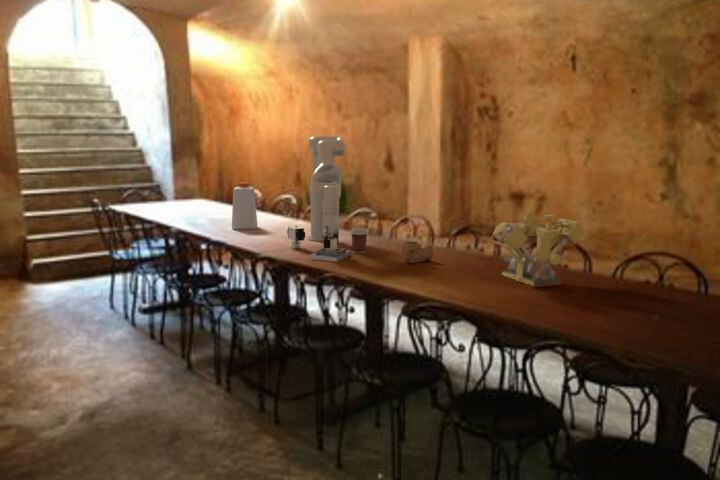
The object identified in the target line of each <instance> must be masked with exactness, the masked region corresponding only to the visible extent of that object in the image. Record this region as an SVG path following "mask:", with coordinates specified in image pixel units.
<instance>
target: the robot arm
mask: <svg viewBox="0 0 720 480" xmlns="http://www.w3.org/2000/svg"><path fill="white" fill-rule="evenodd" d="M308 147H309V151H310V152H311V154H312V170H311V171H312V174H311V177H310V186H309V189H308V190H309V191H308V192H309V198H310V199H309V200H310V236H308V237H307V238H308V239H307V240H309V241H313V242H323V248H330V240H329V239H330V236H335V238H337V246H338V245H339V236H340V235H339V233H340V225H339V223H340V221H339V219H340V218H339V215H340V198H341V194H342V179H343V176H342V166H340V165H339V164H338V163H336V161H335V157H344V156H345V154H346V144H345V141H344V140H343V139H342V137H341V136H337V135H336V136H333V135H331V136H326V135H325V136H324V135H316V136H312V137H310V138H309V139H308Z"/></svg>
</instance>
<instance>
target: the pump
mask: <svg viewBox="0 0 720 480" xmlns="http://www.w3.org/2000/svg"><path fill="white" fill-rule="evenodd" d="M329 240H330V248H325V251H328V252H337V248H338V245H337V238H335V236H333V235H331V236H330V239H329Z"/></svg>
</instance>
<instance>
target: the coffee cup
mask: <svg viewBox="0 0 720 480" xmlns="http://www.w3.org/2000/svg"><path fill="white" fill-rule="evenodd" d="M349 233H350V234H351V242H352V243H351V245H352V253H354V254H365V253H366V246H367V239H368V238H367V236H368V234H369V231H368V230H367V228H365V227H352V230H351V231H349Z"/></svg>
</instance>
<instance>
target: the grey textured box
mask: <svg viewBox="0 0 720 480" xmlns="http://www.w3.org/2000/svg"><path fill="white" fill-rule="evenodd" d="M401 251H402V257H403V260H404V261H405V262H406V263H408V264H416V263H417V262H419V261H423V260H429V261H430V260H433V258H434V249H433V246H432V245H431V244H429V243H428V242H423V243H422V242H417V241H416V240H413V241H412V240H407V241H404V242H403V245H402V250H401Z"/></svg>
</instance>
